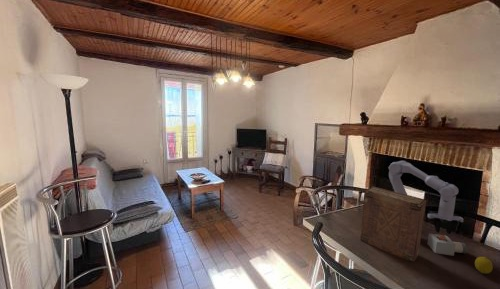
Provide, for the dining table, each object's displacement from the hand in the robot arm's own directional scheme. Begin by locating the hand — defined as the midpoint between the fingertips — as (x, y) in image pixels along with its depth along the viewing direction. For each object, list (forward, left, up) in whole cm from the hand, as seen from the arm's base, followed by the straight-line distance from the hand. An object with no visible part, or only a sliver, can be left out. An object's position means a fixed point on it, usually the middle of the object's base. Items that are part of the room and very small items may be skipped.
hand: (442, 232), depth 115 cm
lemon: (+9, -15, -10) cm, 20 cm away
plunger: (0, 0, -3) cm, 3 cm away
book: (-26, -5, -10) cm, 28 cm away
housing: (0, 0, -10) cm, 10 cm away
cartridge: (+4, 0, -10) cm, 10 cm away
